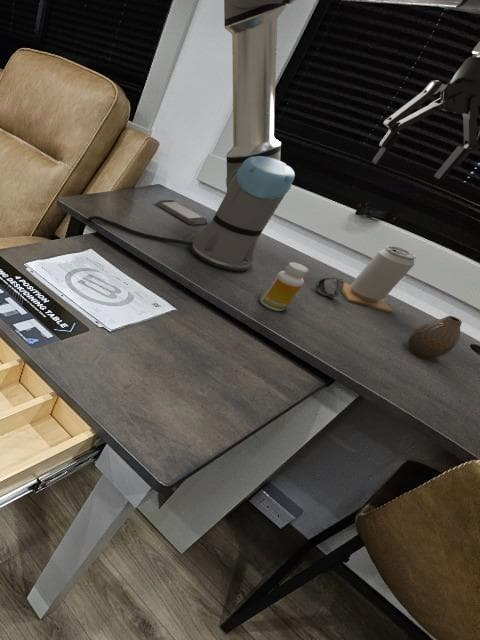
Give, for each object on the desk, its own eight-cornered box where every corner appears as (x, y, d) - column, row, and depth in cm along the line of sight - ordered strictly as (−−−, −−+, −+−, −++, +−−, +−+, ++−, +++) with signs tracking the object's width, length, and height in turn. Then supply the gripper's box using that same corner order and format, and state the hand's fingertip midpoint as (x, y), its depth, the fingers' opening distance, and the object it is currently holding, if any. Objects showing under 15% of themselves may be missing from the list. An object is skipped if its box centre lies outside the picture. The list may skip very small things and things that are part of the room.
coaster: (347, 300, 111) (349, 298, 111) (336, 282, 118) (337, 280, 118) (390, 312, 110) (392, 310, 109) (376, 293, 117) (378, 292, 117)
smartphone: (193, 221, 133) (156, 200, 142) (191, 224, 133) (155, 204, 142) (209, 219, 136) (172, 199, 145) (207, 223, 137) (171, 203, 146)
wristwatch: (323, 298, 113) (320, 278, 113) (346, 294, 108) (343, 274, 108) (315, 300, 112) (312, 280, 112) (337, 297, 108) (334, 276, 107)
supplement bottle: (287, 314, 101) (316, 275, 94) (263, 308, 101) (290, 269, 94) (279, 301, 105) (307, 263, 98) (256, 296, 105) (282, 258, 98)
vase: (438, 354, 98) (475, 321, 92) (438, 367, 93) (476, 333, 88) (402, 338, 100) (435, 305, 95) (400, 350, 96) (434, 316, 90)
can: (351, 284, 118) (386, 240, 110) (383, 297, 114) (422, 254, 106) (345, 291, 113) (381, 247, 105) (378, 306, 110) (418, 261, 102)
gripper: (433, 47, 89) (354, 160, 103) (574, 75, 86) (473, 189, 100) (417, 44, 94) (344, 153, 109) (549, 71, 91) (456, 180, 105)
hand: (406, 170), depth 104 cm, fingers open, 13 cm apart
